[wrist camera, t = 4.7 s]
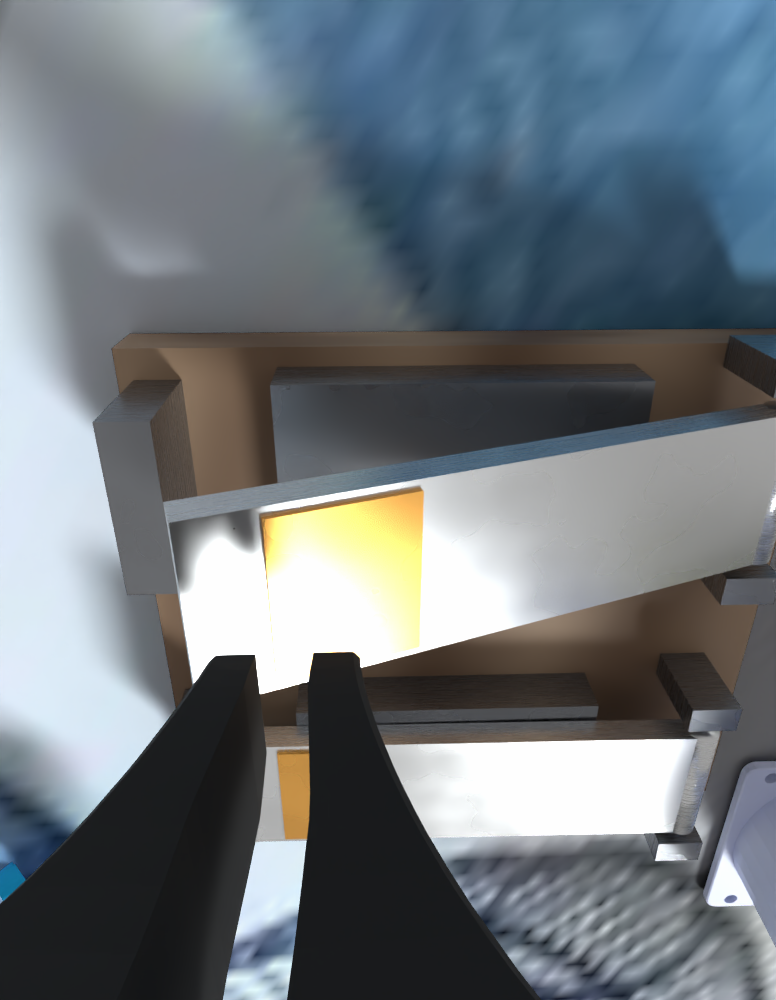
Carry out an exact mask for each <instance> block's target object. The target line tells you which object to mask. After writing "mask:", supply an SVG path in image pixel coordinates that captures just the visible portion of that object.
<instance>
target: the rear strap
mask: <svg viewBox="0 0 776 1000" xmlns="http://www.w3.org/2000/svg"><path fill="white" fill-rule="evenodd" d="M377 727H378V729H379V732H380V734H381V737H382V739H383V742H384V744H385V747H386V749H387V752H388V754H389V756H390V759H391V761H392V764H393V766H394V768H395V770H396V772H397V775H398V777H399V779H400V781H401V783H402V785H403V787H404V789H405V791H406V793H407V795H408V797H409V799H410V801H411V803H412V805H413V807H414V809H415V811H416V813H417V815H418V817H419V819H420V821H421V823H422V824H423V826H424V828H425V830H426V832H427V833H428V835H429V837H430V838H443V837H489V836H534V835H580V834H626V833H672V832H673V833H675V834H678V835H687V834H689V833H691V832H692V831H693V828H694V824H695V821H696V817H697V814H698V810H699V807H700V803H701V800H702V796H703V793H704V789H705V786H706V782H707V779H708V775H709V772H710V768H711V765H712V761H713V758H714V754H715V751H716V747H717V744H718V740H719V737H720V731H696V732H688V731H687V729H686V727H685V725H684V724H683V722H682V720H681V719H659V720H604V721H550V722H495V723H441V724H386V725H377ZM264 733H265V741H266V750H267V755H266V766H265V777H264V787H263V797H262V806H261V815H260V821H259V826H258V831H257V836H256V841H255V842H260V841H306V840H307V834H308V825H309V806H310V773H309V730H308V726H278V727H264Z"/></svg>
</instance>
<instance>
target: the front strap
mask: <svg viewBox="0 0 776 1000" xmlns="http://www.w3.org/2000/svg"><path fill="white" fill-rule="evenodd" d="M163 505H164V511H165V517H166V523H167V529H168V536H169V542H170V548H171V554H172V560H173V566H174V573H175V579H176V585H177V591H178V597H179V604H180V610H181V616H182V622H183V628H184V635H185V641H186V647H187V653H188V659H189V665H190V672H191V678H192V684H194V682H195V681H196V680H197V678H198V677H199V675H200V674H201V672H202V671H203V669H204V668H205V666H206V665H207V663H208V662H209V661H210V660H211V659H212V658H213V657H214V656H215V655H233V654H256V661H257V670H258V679H259V688H260V694H262V693H265V692H269V691H273V690H277V689H281V688H284V687H288V686H292V685H296V684H300V683H304V682H307V681H308V678H309V672H310V666H311V661H312V656H313V653H314V652H354V653H356V654H357V655H358V656H359V657H360V658H361V667H365V666H368V665H372V664H376V663H380V662H384V661H387V660H391V659H395V658H399V657H403V656H406V655H410V654H414V653H418V652H422V651H426V650H429V649H433V648H437V647H441V646H445V645H448V644H452V643H456V642H460V641H464V640H467V639H471V638H475V637H479V636H483V635H487V634H490V633H494V632H498V631H502V630H506V629H509V628H513V627H517V626H521V625H525V624H528V623H532V622H536V621H540V620H544V619H548V618H551V617H555V616H559V615H563V614H567V613H570V612H574V611H578V610H582V609H586V608H590V607H593V606H597V605H601V604H605V603H609V602H612V601H616V600H620V599H624V598H628V597H631V596H635V595H639V594H643V593H647V592H651V591H654V590H658V589H662V588H666V587H670V586H673V585H677V584H681V583H685V582H689V581H692V580H696V579H700V578H704V577H708V576H712V575H715V574H719V573H723V572H727V571H731V570H734V569H738V568H742V567H746V566H750V565H764V564H767V563H768V562H769V561H770V557H771V554H772V550H773V547H774V543H775V540H776V400H773V401H767V402H765V403H764V404H759V405H753V406H747V407H741V408H735V409H729V410H722V411H716V412H710V413H704V414H698V415H692V416H686V417H680V418H674V419H667V420H661V421H655V422H649V423H643V424H637V425H631V426H625V427H619V428H612V429H606V430H600V431H594V432H588V433H582V434H576V435H570V436H564V437H557V438H551V439H545V440H539V441H533V442H527V443H521V444H515V445H509V446H502V447H496V448H490V449H484V450H478V451H472V452H466V453H460V454H454V455H447V456H441V457H435V458H429V459H423V460H417V461H411V462H405V463H399V464H393V465H386V466H380V467H374V468H368V469H362V470H356V471H350V472H344V473H338V474H331V475H325V476H319V477H313V478H307V479H301V480H295V481H289V482H283V483H276V484H270V485H264V486H258V487H252V488H246V489H240V490H234V491H228V492H221V493H215V494H209V495H203V496H197V497H191V498H185V499H179V500H173V501H166V502H163Z"/></svg>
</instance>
